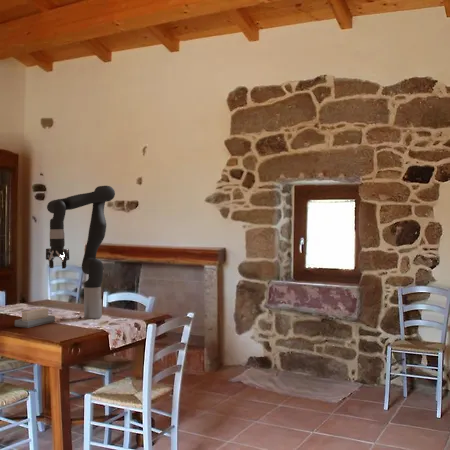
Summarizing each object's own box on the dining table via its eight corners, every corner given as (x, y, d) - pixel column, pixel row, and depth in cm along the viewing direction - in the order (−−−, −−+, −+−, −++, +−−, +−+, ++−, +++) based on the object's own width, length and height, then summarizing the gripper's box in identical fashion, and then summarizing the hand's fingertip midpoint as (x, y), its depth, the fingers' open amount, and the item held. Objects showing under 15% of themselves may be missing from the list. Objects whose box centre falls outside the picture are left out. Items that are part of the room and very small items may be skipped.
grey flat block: (42, 320, 288) (42, 314, 288) (54, 321, 285) (54, 315, 285) (14, 326, 271) (14, 320, 271) (27, 327, 267) (27, 321, 267)
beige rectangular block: (42, 319, 285) (42, 308, 285) (48, 320, 283) (48, 308, 283) (21, 323, 273) (21, 312, 273) (27, 324, 271) (27, 312, 271)
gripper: (72, 237, 282) (72, 267, 283) (51, 237, 288) (52, 267, 289) (62, 238, 275) (63, 269, 276) (41, 238, 281) (42, 268, 282)
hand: (57, 268), depth 282 cm, fingers open, 8 cm apart
